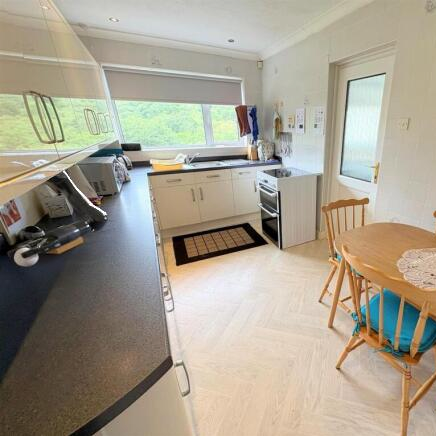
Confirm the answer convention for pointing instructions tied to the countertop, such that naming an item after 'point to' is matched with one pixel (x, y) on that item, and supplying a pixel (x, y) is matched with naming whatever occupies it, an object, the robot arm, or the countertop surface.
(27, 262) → the egg
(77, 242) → the bin
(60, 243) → the robot arm
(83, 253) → the countertop surface
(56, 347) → the countertop surface
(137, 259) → the countertop surface
